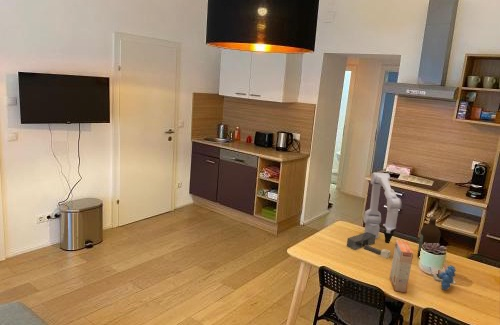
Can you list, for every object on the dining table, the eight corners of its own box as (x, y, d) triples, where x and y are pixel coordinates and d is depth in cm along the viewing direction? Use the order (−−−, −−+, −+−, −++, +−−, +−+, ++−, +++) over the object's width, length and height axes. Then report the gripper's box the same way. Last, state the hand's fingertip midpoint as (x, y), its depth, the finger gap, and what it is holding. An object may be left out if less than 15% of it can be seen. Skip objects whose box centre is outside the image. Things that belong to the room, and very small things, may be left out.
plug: (366, 247, 231) (367, 242, 230) (389, 256, 221) (390, 251, 220) (363, 249, 228) (363, 244, 227) (386, 258, 218) (387, 253, 217)
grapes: (441, 281, 196) (445, 259, 194) (455, 286, 191) (460, 264, 189) (432, 288, 188) (437, 266, 186) (447, 294, 183) (451, 271, 181)
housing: (366, 239, 243) (367, 232, 242) (374, 243, 238) (375, 235, 237) (346, 246, 231) (347, 238, 229) (354, 250, 226) (355, 241, 225)
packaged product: (429, 258, 212) (449, 261, 210) (428, 266, 213) (447, 269, 211) (436, 273, 195) (457, 276, 193) (434, 281, 196) (455, 285, 194)
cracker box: (407, 293, 182) (414, 252, 177) (393, 291, 183) (400, 250, 179) (401, 279, 195) (408, 241, 191) (389, 277, 196) (395, 239, 192)
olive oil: (434, 256, 226) (442, 216, 220) (436, 263, 216) (444, 222, 211) (415, 252, 229) (422, 213, 224) (416, 259, 219) (423, 218, 214)
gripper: (386, 213, 225) (382, 235, 228) (382, 220, 212) (378, 243, 215) (398, 216, 222) (395, 237, 225) (395, 223, 209) (391, 246, 212)
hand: (388, 240), depth 220 cm, fingers open, 7 cm apart
